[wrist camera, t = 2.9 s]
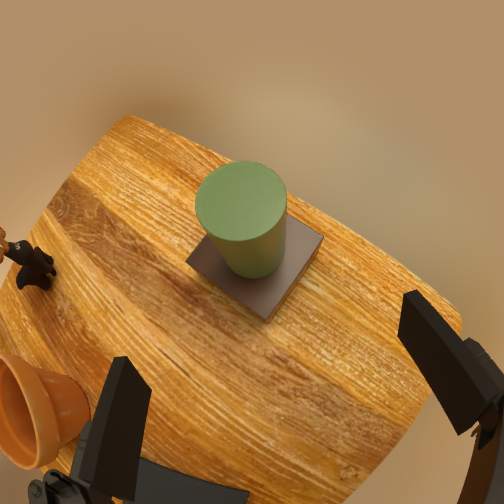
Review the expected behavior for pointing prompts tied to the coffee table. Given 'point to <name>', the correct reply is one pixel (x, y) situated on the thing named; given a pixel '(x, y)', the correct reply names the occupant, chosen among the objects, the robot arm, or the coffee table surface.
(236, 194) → the green canister
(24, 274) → the figurine
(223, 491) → the slate mat
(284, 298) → the dark brown square block
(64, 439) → the flower pot
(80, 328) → the coffee table surface
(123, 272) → the coffee table surface
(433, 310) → the robot arm
